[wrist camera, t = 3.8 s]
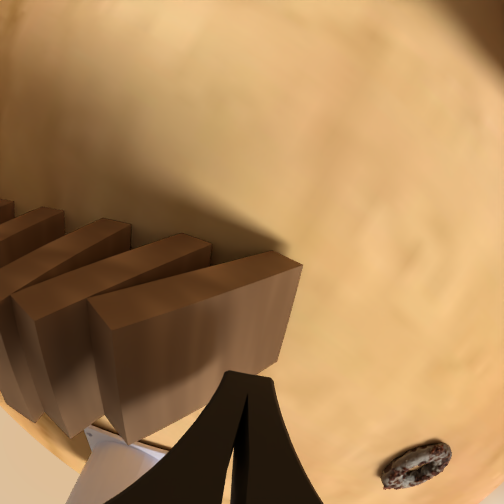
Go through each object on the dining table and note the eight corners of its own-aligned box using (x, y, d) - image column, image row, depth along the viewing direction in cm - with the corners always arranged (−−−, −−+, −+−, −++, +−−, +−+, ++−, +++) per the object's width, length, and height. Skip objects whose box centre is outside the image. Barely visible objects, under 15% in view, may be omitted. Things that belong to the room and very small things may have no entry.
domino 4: (303, 264, 13) (111, 330, 7) (277, 361, 14) (128, 445, 9) (271, 250, 14) (86, 298, 8) (252, 344, 15) (104, 415, 9)
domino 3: (212, 243, 13) (34, 321, 6) (200, 341, 15) (70, 438, 8) (181, 232, 14) (10, 294, 7) (174, 327, 15) (44, 411, 9)
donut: (465, 448, 19) (472, 464, 17) (392, 487, 21) (396, 504, 20) (437, 416, 17) (446, 437, 15) (348, 464, 20) (351, 485, 18)
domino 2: (130, 224, 14) (-7, 305, 6) (129, 317, 15) (34, 423, 8) (102, 218, 14) (-35, 288, 6) (104, 308, 16) (6, 403, 8)
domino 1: (64, 210, 14) (-60, 274, 6) (69, 298, 16) (-22, 386, 8) (42, 206, 14) (-77, 263, 6) (48, 291, 16) (-42, 370, 8)
